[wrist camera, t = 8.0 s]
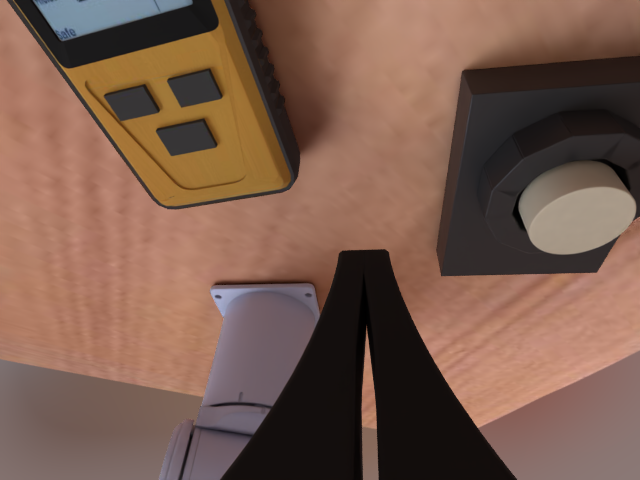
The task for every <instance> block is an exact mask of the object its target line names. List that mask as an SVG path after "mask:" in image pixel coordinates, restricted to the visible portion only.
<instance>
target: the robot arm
mask: <svg viewBox="0 0 640 480" xmlns="http://www.w3.org/2000/svg"><path fill="white" fill-rule="evenodd" d="M210 293H211V295H212V297H213V299H214V301H215V303H216V305H217V307H218V308H219V310H220V312H221V314H222V316H223V318H224V320H223V324H222V328H221V332H220V336H219V339H218V343H217V347H216V351H215V355H214V359H213V363H212V367H211V371H210V375H209V379H208V383H207V387H206V391H205V395H204V399H203V403H202V406H200V410H199V414H198V417H197V422H196V425H193V422H194V420H192V419H185V420H184V421H183V423H180V424H179V425H178V426H176V427H175V429H174V431H173V433H172V437H171V439H170V443H169V446H168V449H167V452H166V456H165V459H164V462H163V466H162V470H161V473H160V476H159V480H363V466H362V411H361V408H362V385H363V371H364V356H365V341H366V326H367V331H368V339H369V348H370V356H371V364H372V373H373V381H374V389H375V399H376V415H377V441H378V471H379V480H517V479H516V478H515V476H514V475H513V474H512V473H511V471H510V470H509V469H508V468H507V466H506V465H505V464H504V462H503V461H502V460H501V459H500V458H499V456H498V455H497V454H496V452H495V451H494V449H493V448H492V447H491V445H490V444H489V443H488V442H487V440H486V439H485V438H484V436H483V435H482V434H481V432H480V431H479V429H478V428H477V426H476V425H475V424H474V422H473V421H472V419H471V418H470V416H469V415H468V413H467V412H466V411H465V409H464V408H463V406H462V405H461V403H460V402H459V400H458V399H457V398H456V396H455V395H454V393H453V391H452V390H451V388H450V387H449V385H448V383H447V382H446V380H445V379H444V377H443V375H442V374H441V372H440V370H439V369H438V367H437V365H436V364H435V362H434V360H433V358H432V357H431V355H430V353H429V351H428V349H427V348H426V346H425V344H424V342H423V340H422V338H421V336H420V334H419V332H418V330H417V328H416V326H415V324H414V322H413V320H412V318H411V316H410V313H409V311H408V309H407V307H406V304H405V302H404V300H403V297H402V295H401V292H400V290H399V287H398V284H397V281H396V279H395V276H394V272H393V269H392V266H391V261H390V257H389V252H388V251H387V250H385V249H380V250H348V251H342V252H340V253H339V257H338V263H337V267H336V271H335V275H334V279H333V282H332V285H331V288H330V291H329V294H328V297H327V299H326V302H325V305H324V307H323V310H322V313H321V315H320V312H319V307H318V302H317V297H316V292H315V287H314V286H313V285H312V284H309V283H296V284H250V285H214V286H212V287H211V289H210Z"/></svg>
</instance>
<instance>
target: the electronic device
mask: <svg viewBox="0 0 640 480" xmlns="http://www.w3.org/2000/svg"><path fill="white" fill-rule="evenodd" d="M7 1H8V2H9V4H10V5H11V6H12V8H13V9H14V11H15V12H16V13H17V15H18V16H19V17H20V19H21V20H22V22H23V23H24V24H25V26H26V27H27V28H28V30H29V31H30V33H31V34H32V35H33V37H34V38H35V39H36V41H37V42H38V44H39V45H40V46H41V48H42V49H43V50H44V52H45V53H46V55H47V56H48V57H49V59H50V60H51V61H52V63H53V64H54V65H55V67H56V68H57V70H58V71H59V72H60V74H61V75H62V76H63V78H64V79H65V81H66V82H67V83H68V85H69V86H70V87H71V89H72V90H73V92H74V93H75V94H76V96H77V97H78V98H79V100H80V101H81V103H82V104H83V105H84V107H85V108H86V109H87V111H88V112H89V114H90V115H91V116H92V118H93V119H94V120H95V122H96V123H97V125H98V126H99V127H100V129H101V130H102V131H103V133H104V134H105V135H106V137H107V138H108V140H109V141H110V142H111V144H112V145H113V146H114V148H115V149H116V151H117V152H118V153H119V155H120V156H121V157H122V159H123V160H124V162H125V163H126V164H127V166H128V167H129V168H130V170H131V171H132V173H133V174H134V175H135V177H136V178H137V179H138V181H139V182H140V184H141V185H142V186H143V188H144V189H145V190H146V192H147V193H148V194H149V196H150V197H151V199H152V200H153V201H155V202H156V203H157V204H158V205H160V206H162V207H164V208H167V209H183V208H189V207H195V206H202V205H208V204H214V203H220V202H227V201H233V200H239V199H245V198H251V197H258V196H264V195H270V194H276V193H282V192H284V191H287V190H289V189H290V188H291V186H292V185H293V184H294V182H295V181H296V179H297V177H298V172H299V166H300V151H299V148H298V145H297V142H296V139H295V136H294V133H293V130H292V127H291V124H290V122H289V119H288V116H287V113H286V110H285V107H284V102H285V98H284V96H282V95H281V94H280V92H279V86H280V83H279V81H277V80H276V79H275V78H274V75H273V72H274V69H275V68H274V65H272V64H271V63H269V60H268V57H267V56H268V53H269V51H268V48H267V47H265V46H263V43H262V40H261V37H262V35H263V33H262V30H261V29H259V28H257V25H256V23H255V20H254V19H255V17H256V12H255V10H253V9H252V8H250V5H249V2H248V0H7Z"/></svg>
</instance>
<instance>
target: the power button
mask: <svg viewBox="0 0 640 480" xmlns="http://www.w3.org/2000/svg"><path fill="white" fill-rule="evenodd" d="M518 208H519V213H520V215H521V218H522V220H523V223H524V225H525V228H526V230H527V233H528V235H529V238H530V240H531V242H532V243H533V244H534V245H535V246H536V247H537V248H539V249H540V250H542V251H545V252H548V253H552V254H575V253H581V252H585V251H589V250H592V249H595V248H598V247H600V246H602V245H604V244H606V243H608V242H610V241H612V240H613V239H615V238H616V237H618V236H619V235H620V234H621V233H622V232H624V231H625V230H626V229H627V228H628V226H629V225H630V224H631V222H632V221H633V219H634V217H635V214H636V202H635V200H634V198H633V197H632V195H631V194H630V192H629V191H628V190H627V188H626V187H625V185H624V184H623V183H622V181H621V180H620V178H619V177H618V175H617V174H616V173H615V171H614V170H613V169H612V168H611V167H609V166H608V165H606V164H604V163H601V162H597V161H591V160H580V161H573V162H568V163H565V164H563V165H560V166H558V167H555V168H553V169H551V170H548V171H546V172H544V173H542V174H540V175H539V176H538V177H536V178H535V179H534V180H533V181H532V182H531V183H530V184H529V185H528V186H527V187H526V188H525V190H524V191H523V193H522V194H521V197H520V200H519V206H518Z"/></svg>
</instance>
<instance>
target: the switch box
mask: <svg viewBox="0 0 640 480" xmlns="http://www.w3.org/2000/svg"><path fill="white" fill-rule="evenodd" d="M580 160H591V161H597V162H601V163H604V164H606V165H608V166H609V167H611V168H612V169H613V170H614V171H615V173H616V174H617V175H618V177H619V178H620V180H621V181H622V183H623V184H624V185H625V187H626V188H627V190H628V191H629V192H630V194H631V195H632V197H633V198H634V200H635V202H636V214H635V217H634V219H633V221H634V220H635V219H636V218H638V217H639V216H640V56H636V57H624V58H612V59H600V60H588V61H576V62H564V63H552V64H540V65H528V66H515V67H503V68H491V69H479V70H467V71H462V77H461V84H460V91H459V97H458V104H457V111H456V118H455V125H454V132H453V139H452V146H451V153H450V160H449V166H448V173H447V180H446V187H445V194H444V201H443V208H442V215H441V222H440V229H439V235H438V242H437V249H436V251H437V256H438V261H439V267H440V272H441V276H469V275H513V274H556V273H596V272H597V271H598V270H599V268H600V266H601V265H602V263H603V262H604V260H605V258H606V257H607V255H608V253H609V252H610V250H611V249H612V247H613V245H614V244H615V242H616V240H617V239H618V237H619V236H620V235H619V236H618V237H616V238H615V239H613V240H612V241H610V242H608V243H606V244H604V245H602V246H600V247H598V248H595V249H592V250H589V251H585V252H581V253H575V254H552V253H548V252H545V251H542V250H540V249H539V248H537V247H536V246H535V245H534V244H533V243H532V242H531V240H530V238H529V235H528V233H527V230H526V228H525V225H524V223H523V220H522V218H521V215H520V213H519V208H518V206H519V200H520V197H521V194H522V193H523V191H524V190H525V188H526V187H527V186H528V185H529V184H530V183H531V182H532V181H533V180H534V179H535V178H536V177H538V176H539V175H540V174H542V173H544V172H546V171H548V170H551V169H553V168H555V167H558V166H560V165H563V164H565V163H568V162H573V161H580Z"/></svg>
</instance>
